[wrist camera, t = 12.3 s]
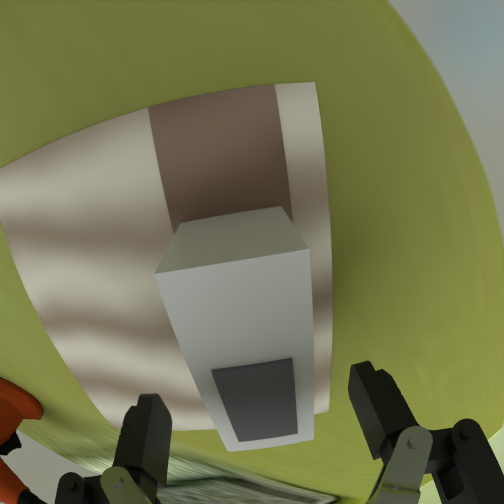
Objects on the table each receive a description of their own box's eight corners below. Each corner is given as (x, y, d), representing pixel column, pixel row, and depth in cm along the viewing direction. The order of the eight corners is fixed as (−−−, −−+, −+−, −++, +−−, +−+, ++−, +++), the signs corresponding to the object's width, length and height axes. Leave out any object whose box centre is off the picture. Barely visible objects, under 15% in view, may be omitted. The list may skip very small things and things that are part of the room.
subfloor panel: (0, 171, 13) (-13, 175, 12) (308, 85, 13) (315, 81, 12) (116, 419, 22) (113, 429, 21) (325, 401, 22) (328, 412, 21)
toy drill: (129, 460, 24) (94, 561, 10) (4, 389, 22) (-48, 462, 8) (129, 444, 22) (87, 561, 8) (-6, 365, 21) (-67, 443, 7)
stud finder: (180, 222, 14) (152, 276, 9) (280, 205, 14) (310, 251, 9) (226, 386, 19) (228, 454, 14) (297, 375, 19) (314, 442, 14)
